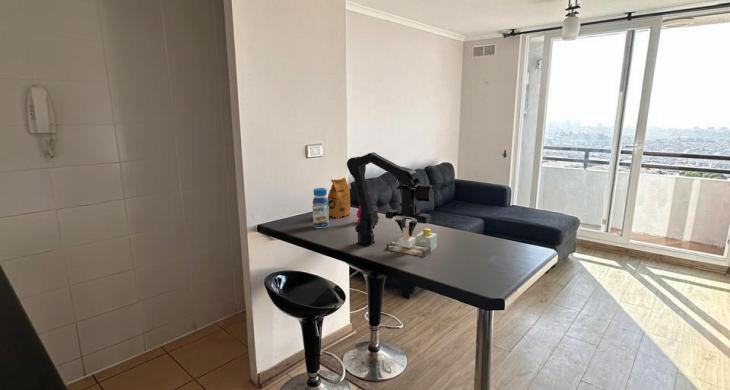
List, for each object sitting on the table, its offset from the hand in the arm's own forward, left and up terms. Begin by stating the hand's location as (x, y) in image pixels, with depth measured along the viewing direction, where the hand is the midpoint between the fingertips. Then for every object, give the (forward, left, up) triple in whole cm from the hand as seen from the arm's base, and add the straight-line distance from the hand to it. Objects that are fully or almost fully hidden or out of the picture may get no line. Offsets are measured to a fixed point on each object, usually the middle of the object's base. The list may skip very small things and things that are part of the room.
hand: (407, 235), depth 164 cm
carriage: (0, 0, -4) cm, 4 cm away
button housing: (+5, +7, -7) cm, 11 cm away
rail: (0, 0, -7) cm, 7 cm away
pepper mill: (-41, +29, -7) cm, 50 cm away
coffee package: (-61, +34, -7) cm, 70 cm away
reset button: (+6, +8, -4) cm, 10 cm away
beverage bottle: (-56, +11, -7) cm, 57 cm away
